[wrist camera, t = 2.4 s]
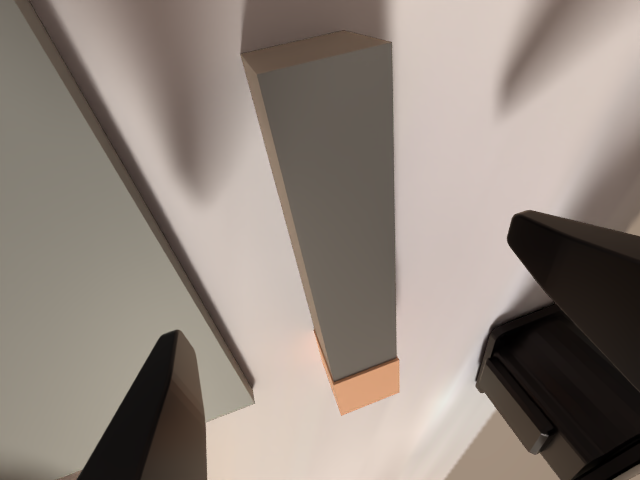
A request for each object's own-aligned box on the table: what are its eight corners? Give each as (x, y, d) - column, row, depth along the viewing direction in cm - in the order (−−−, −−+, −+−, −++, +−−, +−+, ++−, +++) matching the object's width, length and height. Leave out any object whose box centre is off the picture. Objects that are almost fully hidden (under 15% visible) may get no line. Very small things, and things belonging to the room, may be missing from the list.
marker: (345, 29, 8) (397, 42, 6) (373, 342, 15) (399, 392, 13) (237, 53, 7) (254, 76, 5) (322, 361, 15) (341, 415, 13)
